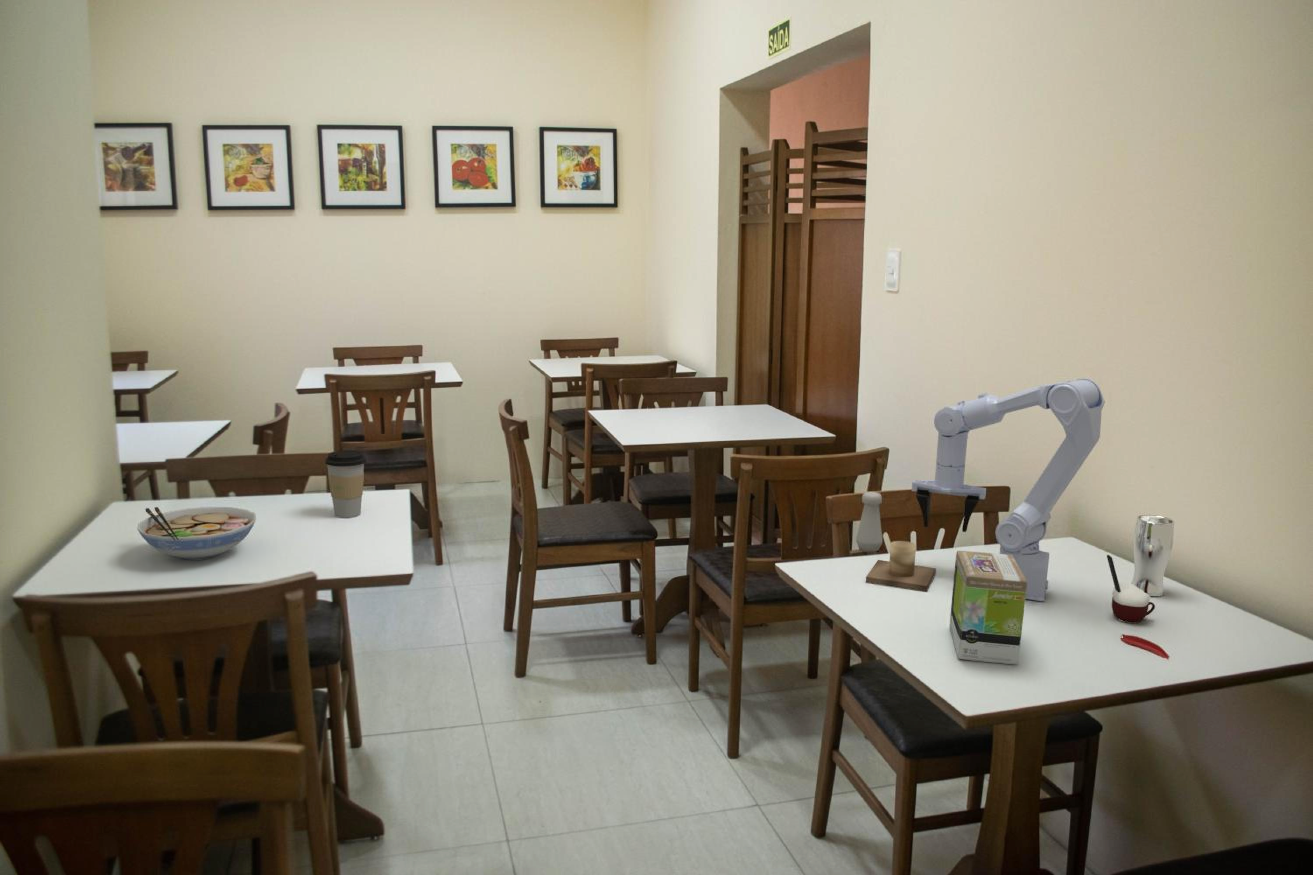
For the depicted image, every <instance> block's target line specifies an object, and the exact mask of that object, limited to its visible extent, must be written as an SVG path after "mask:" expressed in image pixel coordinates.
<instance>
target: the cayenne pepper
mask: <svg viewBox="0 0 1313 875" xmlns="http://www.w3.org/2000/svg"><path fill="white" fill-rule="evenodd" d="M1122 636H1123V638H1120V637H1119V638H1120V640H1121V641H1122V642H1123V643H1124V644H1126V645H1129V646H1132V647H1135V648H1138V649H1140V650H1141V649H1142V650H1144V651H1147V652H1149V653H1151V654H1154V655H1156V656H1157V657H1160V658H1161V659H1167V660H1169V658H1170V656H1169V654H1168V653H1167V651H1166V650H1164V649H1163V647H1161V646H1160V645H1158V644H1157V643H1154V642H1152V641H1151V640H1148V639H1145V638H1143V637H1139V636H1135V635H1132V634H1131V635H1130V634H1129V635H1127V634H1123V633H1122Z"/></svg>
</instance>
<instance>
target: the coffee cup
mask: <svg viewBox="0 0 1313 875" xmlns="http://www.w3.org/2000/svg"><path fill="white" fill-rule="evenodd" d="M365 463H367V458H366V456H364V453H363V451H360V450H353V449H349V450H348V449H345V450H336V451H331V452H330V453H328V454H327V457H326V458H325V463H324V464H325V465H327V477H328V482H329V489H330V496H331V500H332V505H333V506H332V507H333V511H334V517H336V518H339V519H352V518H355V517H359V516H360V515H361V513H362V512H361V511H362V499H363V498H362V497H363V494H364V478H365V472H364V469H365Z"/></svg>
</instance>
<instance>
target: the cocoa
mask: <svg viewBox="0 0 1313 875" xmlns="http://www.w3.org/2000/svg"><path fill="white" fill-rule="evenodd" d="M1106 560H1107V562H1108V567H1109V570H1110V574H1111V578H1112V580H1113V585H1114V587H1113V590H1112V592H1111V594H1112V597H1111V609H1112V614H1113V615H1114V616H1115V617H1116V618H1117V619H1118V620H1119V619H1120V620H1119V621H1121V620H1122V622H1124V621H1125V622H1124V623H1128V622H1131V624H1135V622H1137V623H1139V622H1141V621H1144V619H1145V618H1146V617H1147V616H1149V615H1150V614H1152V613H1153V612H1154V610H1155V608H1156V604H1155V603H1154V602H1152V601H1150V599H1151V597H1150V596H1149V595H1148V594H1146V593H1145V592H1144V591H1143V590H1141V589H1139V588H1138V587H1136V586H1135V585H1133V584H1131V583H1132V582H1119V579H1118V575H1117V572H1116V571H1117V570H1116V568H1115V564H1114V563H1115V562H1114V560H1113V557H1112V556H1111V555H1109V554H1107V555H1106ZM1149 606H1151V608H1150V609H1149Z"/></svg>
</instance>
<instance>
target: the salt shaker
mask: <svg viewBox="0 0 1313 875" xmlns="http://www.w3.org/2000/svg"><path fill="white" fill-rule="evenodd" d="M882 500H883V497H882V495H881V493H879V492H877V491H865V492H863V493H862V496H861V502H862V503H863V509H862V513H861V516H860V521H859V522H860V523H859V526H858V528H857V529H858V530H857V533H856V537H855V538H856V539H855V541H856V544H857V547H858V550H860V551H862V552H864V553H876V552H879V550H880V548H881V546H882V544H883V541H884V540H883V533H882V532H883V531H882V523H881V513H880V505H881V504H882Z"/></svg>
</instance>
